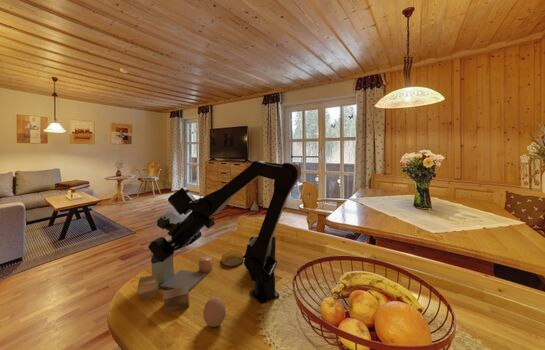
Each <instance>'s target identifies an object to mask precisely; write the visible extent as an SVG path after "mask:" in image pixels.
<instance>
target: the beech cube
mask: <svg viewBox="0 0 545 350" xmlns="http://www.w3.org/2000/svg"><path fill="white" fill-rule="evenodd" d="M158 290H159V283H158V278H157V275H152V274H151V275H146V276H141V277H139V281H138V284H137V294H138V295H137V296H138V301H142V300H146V299H152V298H157V296H158V292H159V291H158Z"/></svg>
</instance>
